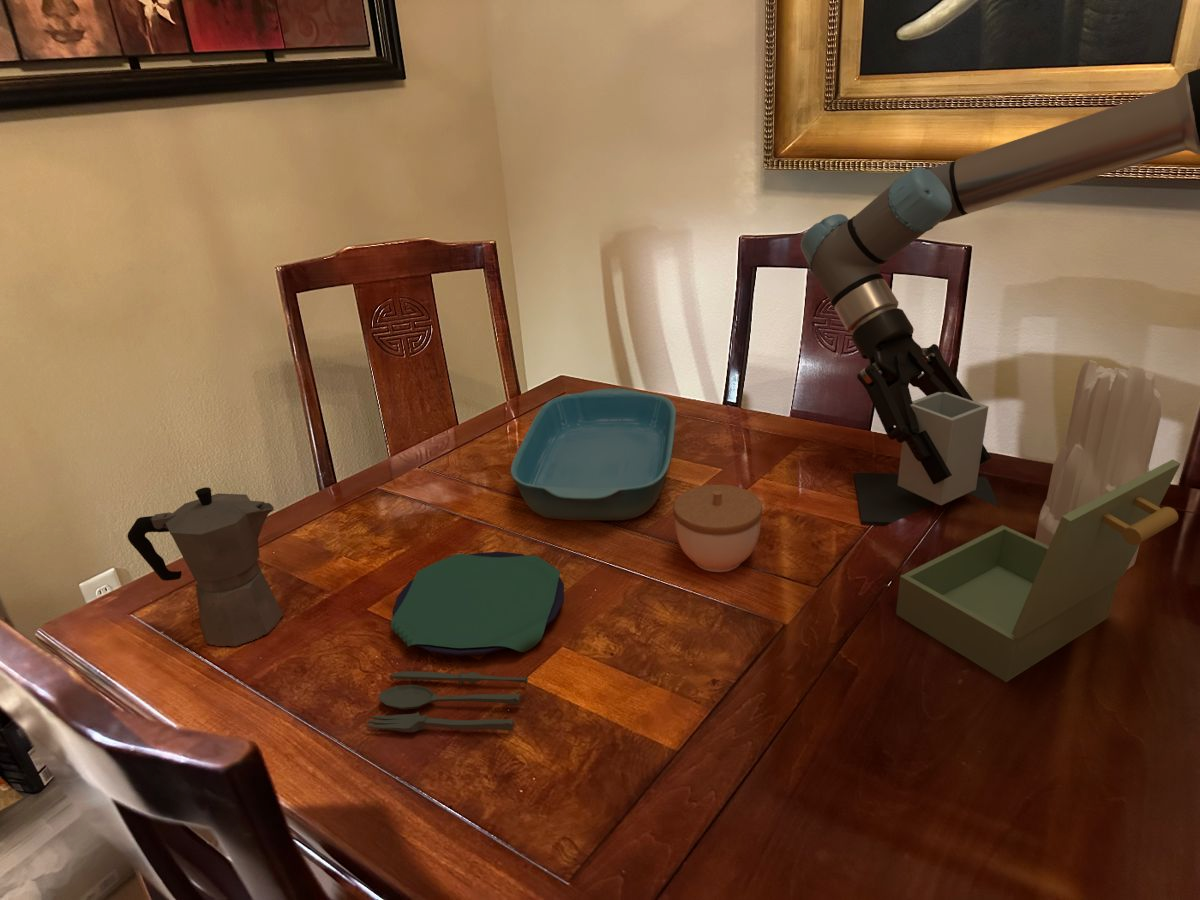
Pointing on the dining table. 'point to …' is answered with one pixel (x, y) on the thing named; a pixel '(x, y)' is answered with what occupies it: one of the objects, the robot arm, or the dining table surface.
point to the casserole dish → (596, 455)
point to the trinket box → (717, 525)
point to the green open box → (992, 603)
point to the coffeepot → (218, 563)
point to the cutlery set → (469, 626)
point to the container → (946, 446)
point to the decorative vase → (1102, 441)
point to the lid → (1097, 545)
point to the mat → (898, 498)
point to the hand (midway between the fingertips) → (962, 471)
